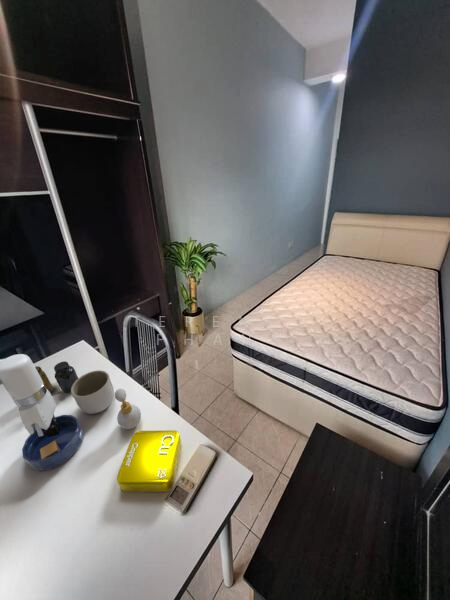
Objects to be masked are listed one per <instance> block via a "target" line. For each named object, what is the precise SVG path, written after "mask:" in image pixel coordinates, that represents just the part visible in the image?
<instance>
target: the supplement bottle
mask: <svg viewBox="0 0 450 600" xmlns="http://www.w3.org/2000/svg"><path fill="white" fill-rule="evenodd" d="M53 370H54V379H55V382H57V383H58V384H59V386H60V391H61V392H62V393H63V394H72V393H71V387H72V385H73V384H74V382H75V381H76V380H77V379H78V378H79V376H78V374H77V371H76V369H75V368H74V367H73V366H72V365H70V364H69V362H68V361H60V362H58V363H57V364H55V365H54V366H53Z"/></svg>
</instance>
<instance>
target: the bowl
mask: <svg viewBox="0 0 450 600" xmlns="http://www.w3.org/2000/svg"><path fill="white" fill-rule="evenodd" d="M55 418H56V421H55V422H57V424H58V426H59V428H60V431H59V434H58V435H55V436H51V437H48V436H47V435H46V433H45V435H44V436H41V437H39V436H38V433H37V431H36V429H35V431H34V434H30V433H29V436H28V437H27V438H26V440H25V441H24V443H23V446H22V449H21V452H22V458H23V459H24V460H25V462H26V463H27V464H28V466H29V467H30V468H32V469H33V470H34V471H40V472H41V471H43V472H44V471H49V470H52V469H55V468H57V467H59V466H60V465H63V464H64V463H65V462H67V461H68V460H70V459H71V457H73V455H75V453H76V452H77V451H78V449H79V448H80V446H81V444H82V442H83V439H84V435H85V432H84V430H83V427H82V424H81V423H80V420H79V419H78V417H76V416H74V415H73V414H61V415H57V416H55ZM53 441H56V443H57V444H58V446H59V448H60V451H59V452H58V453H56V454H54V455H53V456H51V457H49V458H45V459H42V458H41V453H40V449H41V448H43V447H44V446H46V445H48V444H50V443H51V442H53Z"/></svg>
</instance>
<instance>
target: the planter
mask: <svg viewBox="0 0 450 600" xmlns="http://www.w3.org/2000/svg"><path fill="white" fill-rule="evenodd" d="M70 394H71V395H72V397H73V399H74V401H75V403H76V404H77V407H78V408H79V410H81V411H82V412H83V413H85V414H89V415H93V414H94V415H95V414H99V413H101V412H103V411H105V410H106V409H108V407H109V406H110V405H111V404H112V402H113V400H114V399H115V390H114V386H113V383H112V380H111V378H110V375H109V373H108V372H107V371H105V370H92V371H88V372H87V373H84V374H82V375H81V376H79V377H78V379H77V380H76V381H75V382H74V384H73V385H72V387H71V393H70Z"/></svg>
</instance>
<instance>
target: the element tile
mask: <svg viewBox="0 0 450 600" xmlns="http://www.w3.org/2000/svg"><path fill="white" fill-rule="evenodd" d="M181 448H182V440H181V435H180V432H179V431H178V430H138V431H136V432H134V433H133V434H132V436H131V439H130V441H129V444H128V447H127V449H126V452H125V454H124V457H123V460H122V463H121V465H120V468H119V471H118V474H117V476H116V482H117V483H118V485H119V487H120V488H119V489H121V491H122V492H126V493H127V492H128V493H129V492H130V493H167V492H169V491H170V490H171V489H172V488H173V487H174V484H175V479H176V475H177V470H178V464H179V460H180V459H179V458H180V454H181V450H182V449H181ZM172 486H173V487H172Z"/></svg>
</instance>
